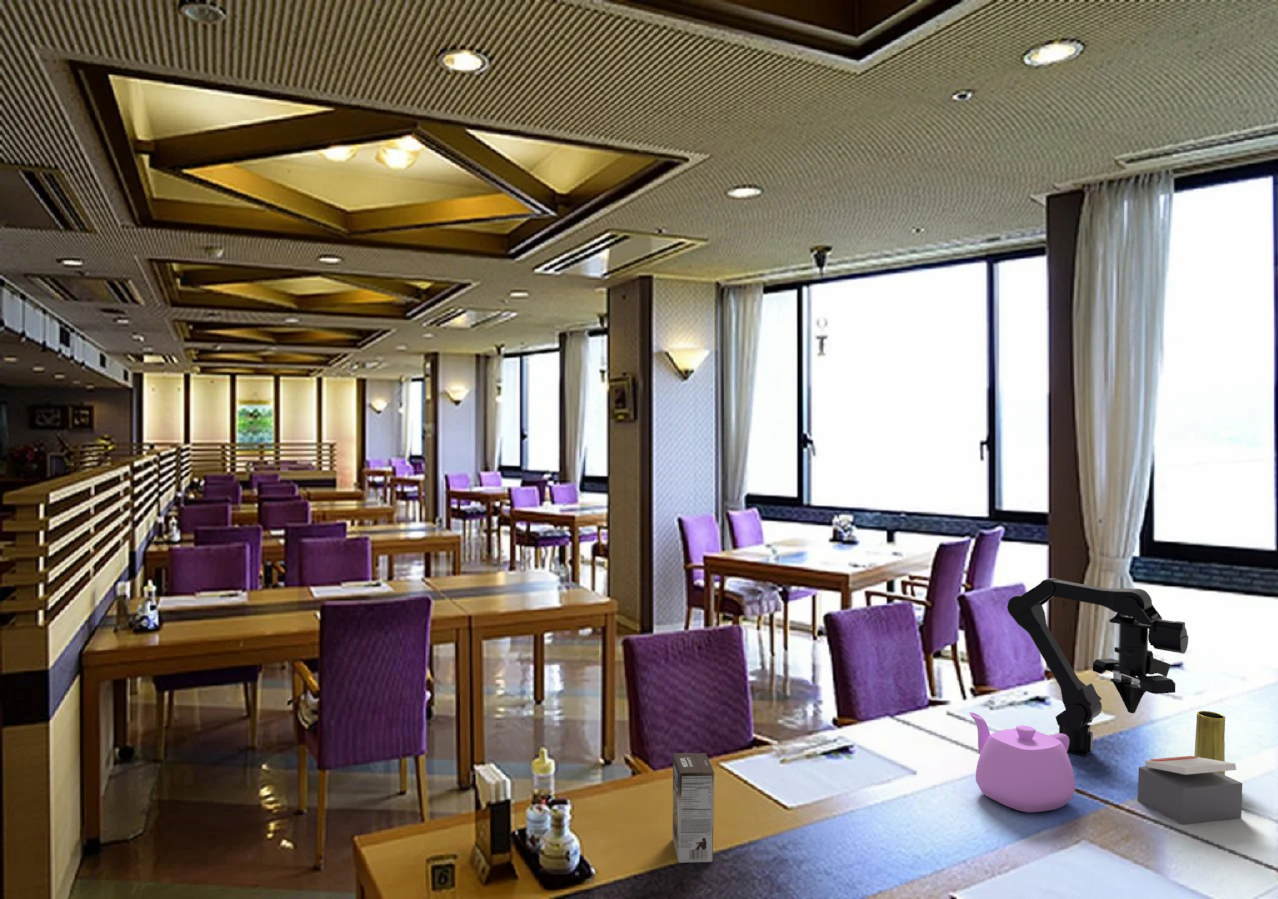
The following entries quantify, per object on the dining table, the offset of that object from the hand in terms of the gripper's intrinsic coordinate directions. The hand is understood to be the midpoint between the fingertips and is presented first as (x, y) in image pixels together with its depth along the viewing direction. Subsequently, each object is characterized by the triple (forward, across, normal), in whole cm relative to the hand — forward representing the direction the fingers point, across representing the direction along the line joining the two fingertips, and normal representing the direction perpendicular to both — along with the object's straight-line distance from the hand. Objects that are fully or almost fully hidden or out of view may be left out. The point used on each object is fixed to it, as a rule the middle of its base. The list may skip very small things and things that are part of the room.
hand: (1131, 712), depth 198 cm
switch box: (+12, -22, +6) cm, 26 cm away
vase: (+12, -10, -11) cm, 19 cm away
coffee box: (+12, -19, +110) cm, 112 cm away
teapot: (+12, -11, +36) cm, 40 cm away
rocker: (+3, -22, +6) cm, 23 cm away
